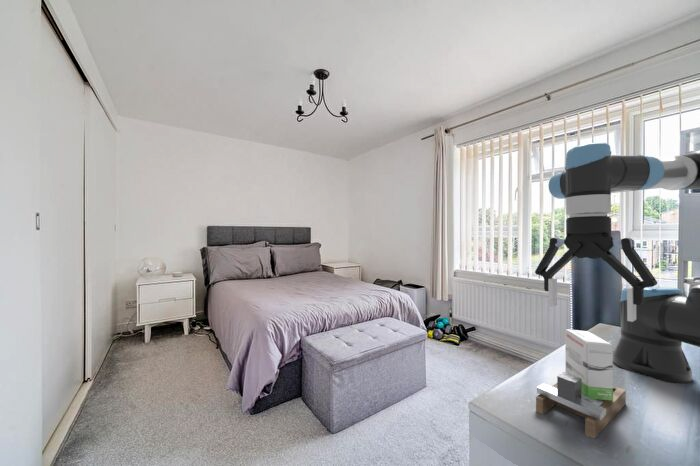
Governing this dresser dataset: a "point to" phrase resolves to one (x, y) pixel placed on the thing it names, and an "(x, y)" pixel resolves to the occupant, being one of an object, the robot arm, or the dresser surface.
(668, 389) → the dresser surface
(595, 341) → the ink box
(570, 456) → the dresser surface
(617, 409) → the dock
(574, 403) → the bar
